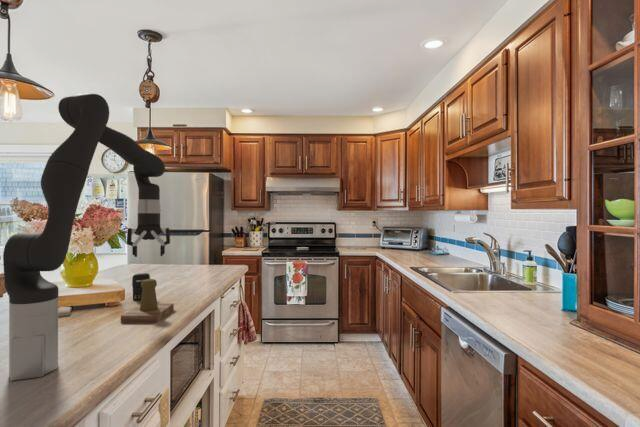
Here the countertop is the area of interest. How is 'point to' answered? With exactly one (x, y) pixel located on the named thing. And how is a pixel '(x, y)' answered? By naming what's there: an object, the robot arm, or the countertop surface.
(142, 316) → the walnut board
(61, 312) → the washcloth
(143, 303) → the cork
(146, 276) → the battery charger
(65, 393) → the countertop surface
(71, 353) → the countertop surface
